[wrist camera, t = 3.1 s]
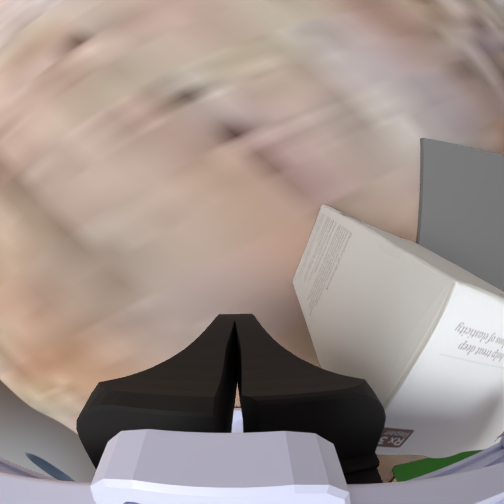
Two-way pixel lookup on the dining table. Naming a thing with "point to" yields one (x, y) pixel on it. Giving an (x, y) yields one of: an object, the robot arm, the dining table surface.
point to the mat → (463, 208)
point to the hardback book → (427, 466)
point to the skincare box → (406, 334)
